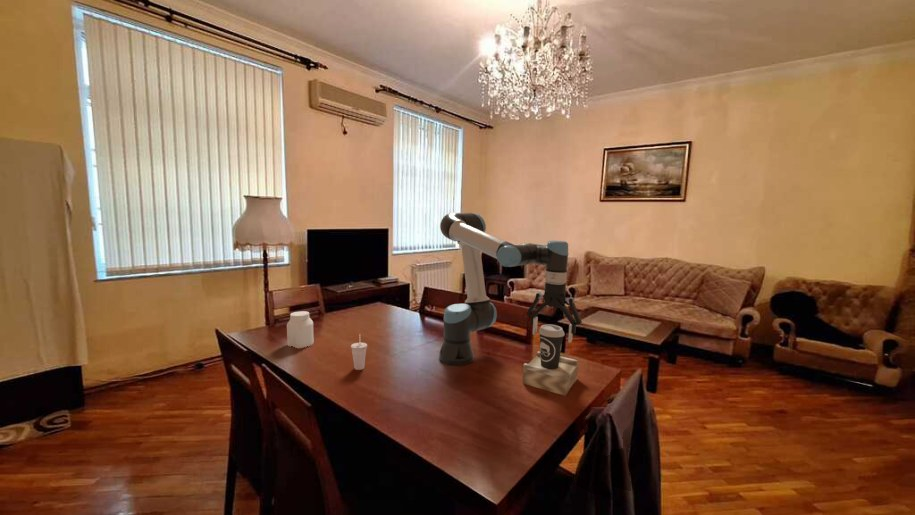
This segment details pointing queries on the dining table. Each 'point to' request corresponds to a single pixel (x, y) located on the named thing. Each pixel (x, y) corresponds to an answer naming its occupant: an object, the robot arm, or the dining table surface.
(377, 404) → the dining table surface
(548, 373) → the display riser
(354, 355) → the smoothie
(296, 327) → the jar
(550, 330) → the coffee cup
